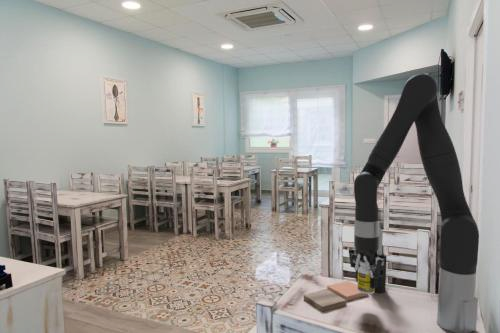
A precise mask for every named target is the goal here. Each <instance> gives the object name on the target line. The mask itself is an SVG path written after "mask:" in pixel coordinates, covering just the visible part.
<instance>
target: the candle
mask: <svg viewBox="0 0 500 333" xmlns="http://www.w3.org/2000/svg"><path fill="white" fill-rule="evenodd" d="M380 224H381V222H379V221H378V225H379V248H378V250H377V254H378V257H379V258H381V259H385V260H386V261H387V255H385V253H383V238H384V237H383V235H384V232H383V230H382V228H381V225H380ZM386 278H387V262H386V263H385V269H384V274H383V276H381V277H378V286H377V287H376V288H375V292H374V293H376V294H379V295H380V294H383V293H384V292H385V291H386V285H387V284H386V282H387V279H386Z"/></svg>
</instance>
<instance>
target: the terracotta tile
mask: <svg viewBox="0 0 500 333" xmlns="http://www.w3.org/2000/svg"><path fill="white" fill-rule="evenodd" d="M326 289H328V290H329V291H331V292H333V293H335V294H336V295H338V296H340V297H342V298H343V299H345V300H346V302H347V301H352V300H355V299H359V298H362V297H365V296H369V294H365V293H361V292H359V291H358V284H356V283H354V282H352V281H350V280H345V281H343V282H337V283H333V284H329V285H327V287H326Z"/></svg>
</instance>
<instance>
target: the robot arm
mask: <svg viewBox="0 0 500 333" xmlns="http://www.w3.org/2000/svg"><path fill="white" fill-rule="evenodd" d="M437 85H438V84H437V82H436V80H435V79H434V78H433V77H432V76H430V75H428V74H425V73H419V74H415V75H413V76H411V77H410V78H408V79H407V81H406V82H404V85H403V88H402V92H401V95H400V98H399V100H398V103H397V105H396V107H395V109H394V111H393V113H392V115H391V118H390V120H389V121H388V123H387V125H386V127H385V128H384V130H383V131H382V133H381V135H380V137H378V140H377V141H376V143H375V145H374V146H373V147H372V150H371V151H370V154H369V156H368V159H367V161H366V163H365V165H364V167H363V168H362V169H361V172H360V173H359V174H357V176H355V179H354V182H353V192H354V194H353V195H354V200H355V201H354V202H355V207H354V209H355V211H354V212H355V213H354V218H355V219H354V227H353V228H354V229H353V230H354V232H353V233H354V234H353V235H354V236H353V237H354V239H353V240H354V243H353V244H354V248H351V249H350V248H349V249H348V256H349V263H350V264H349V265H350V267H351V268H353V269H354V271H355V280H356V281H355V282H357V283H358V268H359V267H360V261H362V262H365V263H366V266H367V270H369V272H370V276H371V277H370V288H371V289H375V288H376V287H377V286H378V277H381V276H383V274H384V269H385V263H386V264H387V259H386V260H385V259H381V258H379V257H378V254H377V250H378V248H379V225H378V222H379V205H378V188H379V186H380V184H381V183H382V180H383V179H384V177H385V174H386V172H387V170H388V169H389V168H390V167H391V166H392V164H393V162H394V161H395V159H396V158H397V156H398V154H399V152H400V150H401V148H402V146H403V145H404V142H405V140H406V138H407V136H408V134H409V132H410V130H411V128H412V126H413V125H414V124H415V129H416V136H417V144H418V150H419V151H418V152H419V155H420V160H421V162H422V166H423V169H424V174H425V175H426V179H427V181H428V183H429V185H430V187H431V188H432V189H431V190H433V193H434V195H435V197H436V200H437V203H438V208H439V215H440V219H441V230H440V246H439V248H440V249H439V272H438V273H439V274H438V276H439V277H438V292H437V313H436V314H437V315H436V323H437V324H438V326H439V327H441V328H442V329H444V330H446V331H449V332H452V333H473V332H475V331H477V323H478V322H477V320H478V307H479V306H478V305H479V304H478V303H479V299H478V297H476V296H475V295H476V294H475V293H476V281H477V278H476V277H477V267H478V256H479V245H480V243H479V242H480V232H479V227H478V225H477V222H476V220H475V218H474V216H473V213H472V212H471V209H470V206H469V205H468V203H467V199H466V196H465V192H464V186H463V177H462V172H461V167H460V161H459V159H458V158H459V157H458V156H457V155H458V154H457V153H456V149H455V146H454V143H453V140H452V138H451V136H450V134H449V132H448V130H447V128H446V126H445V124H444V122H443V119H442V115H441V110H440V106H439V100H438V86H437ZM371 265H373V267H371ZM373 270H374V273H373ZM474 330H475V331H474ZM472 331H473V332H472Z"/></svg>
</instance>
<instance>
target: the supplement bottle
mask: <svg viewBox="0 0 500 333" xmlns="http://www.w3.org/2000/svg"><path fill="white" fill-rule="evenodd" d="M371 267H373V265H371ZM373 273H374V270H373ZM370 277H371V276H370V272H369V270H367V266H366V263H365V262H362V261H360V267H359V268H358V282H357V285H358V291H359V292H361V293H365V294H368V295H372V294H374V293H376V292H375V289H371V288H370Z"/></svg>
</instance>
